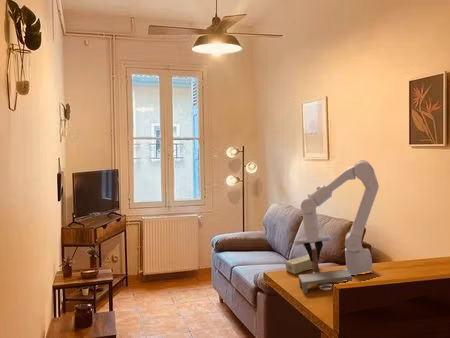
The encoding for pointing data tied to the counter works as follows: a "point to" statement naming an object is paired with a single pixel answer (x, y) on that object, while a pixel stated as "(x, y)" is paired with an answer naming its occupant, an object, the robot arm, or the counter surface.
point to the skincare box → (298, 264)
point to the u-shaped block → (323, 278)
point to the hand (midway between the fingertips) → (314, 260)
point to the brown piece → (315, 261)
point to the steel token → (325, 286)
